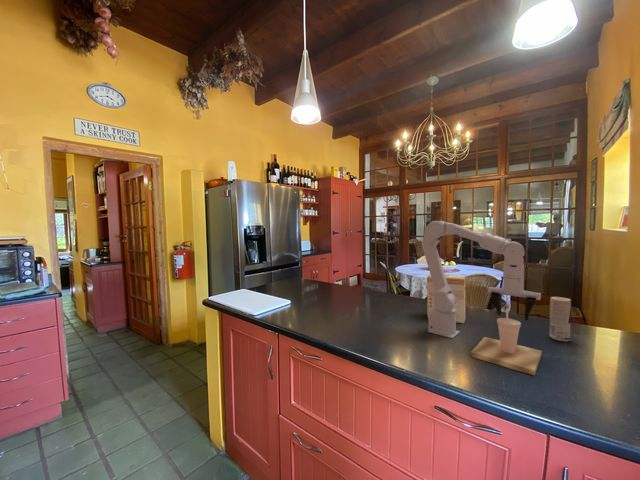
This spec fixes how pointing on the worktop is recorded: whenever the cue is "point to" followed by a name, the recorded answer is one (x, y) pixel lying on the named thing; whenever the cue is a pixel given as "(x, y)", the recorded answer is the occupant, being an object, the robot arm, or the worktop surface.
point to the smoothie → (508, 333)
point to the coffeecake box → (457, 289)
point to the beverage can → (560, 318)
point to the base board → (508, 356)
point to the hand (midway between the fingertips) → (512, 316)
